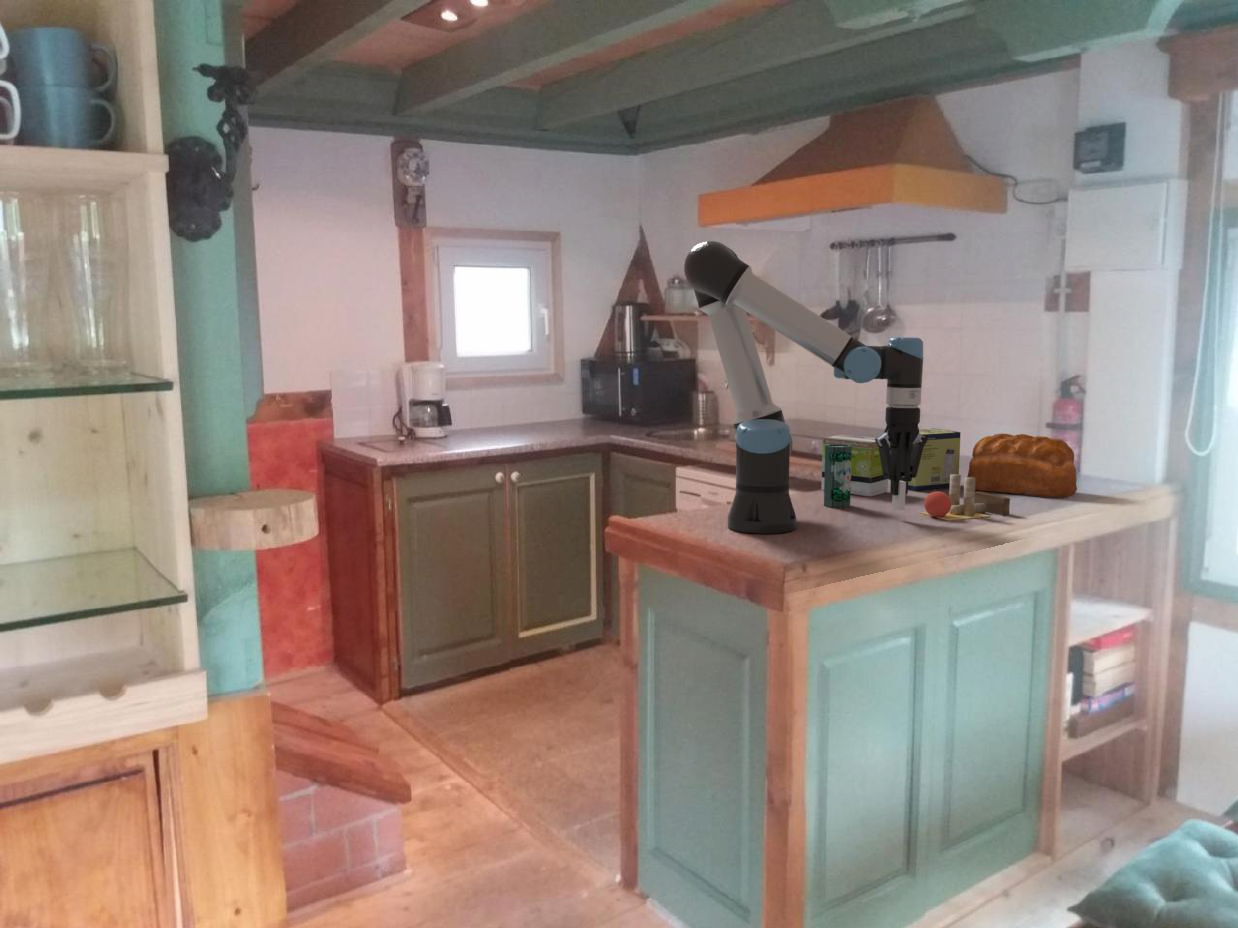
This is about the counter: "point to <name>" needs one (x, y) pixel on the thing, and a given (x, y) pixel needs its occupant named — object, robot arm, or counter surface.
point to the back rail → (993, 503)
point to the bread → (1024, 466)
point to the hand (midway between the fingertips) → (898, 508)
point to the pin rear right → (969, 496)
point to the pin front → (959, 509)
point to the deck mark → (958, 516)
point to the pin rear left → (955, 489)
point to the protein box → (937, 460)
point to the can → (837, 475)
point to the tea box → (861, 464)
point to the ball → (937, 504)
